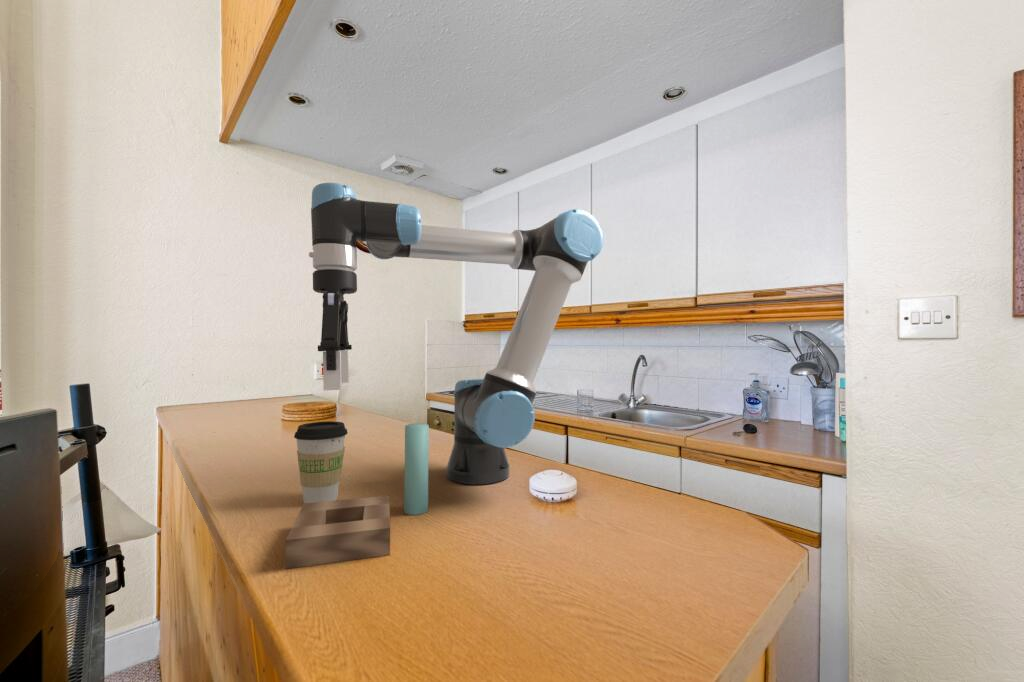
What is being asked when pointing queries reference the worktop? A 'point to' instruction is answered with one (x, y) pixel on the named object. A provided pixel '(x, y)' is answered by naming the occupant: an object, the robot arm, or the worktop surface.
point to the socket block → (339, 532)
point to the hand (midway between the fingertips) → (337, 386)
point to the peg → (416, 469)
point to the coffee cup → (320, 459)
